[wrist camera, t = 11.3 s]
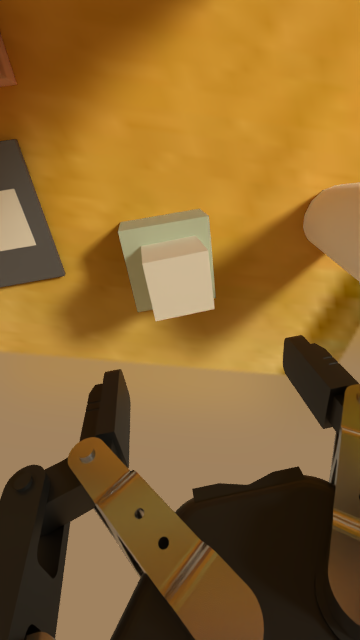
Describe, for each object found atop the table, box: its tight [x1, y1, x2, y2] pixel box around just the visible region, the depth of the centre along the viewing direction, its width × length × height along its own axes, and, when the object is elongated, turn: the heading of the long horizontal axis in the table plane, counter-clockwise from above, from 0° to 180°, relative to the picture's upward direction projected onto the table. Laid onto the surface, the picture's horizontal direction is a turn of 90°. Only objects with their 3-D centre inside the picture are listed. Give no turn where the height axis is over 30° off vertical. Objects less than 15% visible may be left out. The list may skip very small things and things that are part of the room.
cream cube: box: [141, 235, 215, 321], centre depth 24 cm, size 5×5×5 cm
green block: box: [118, 209, 216, 312], centre depth 29 cm, size 8×8×4 cm
